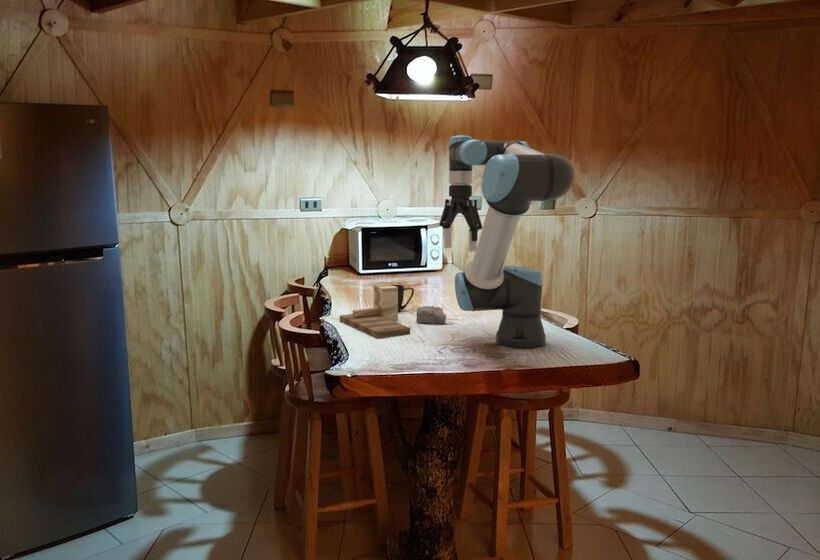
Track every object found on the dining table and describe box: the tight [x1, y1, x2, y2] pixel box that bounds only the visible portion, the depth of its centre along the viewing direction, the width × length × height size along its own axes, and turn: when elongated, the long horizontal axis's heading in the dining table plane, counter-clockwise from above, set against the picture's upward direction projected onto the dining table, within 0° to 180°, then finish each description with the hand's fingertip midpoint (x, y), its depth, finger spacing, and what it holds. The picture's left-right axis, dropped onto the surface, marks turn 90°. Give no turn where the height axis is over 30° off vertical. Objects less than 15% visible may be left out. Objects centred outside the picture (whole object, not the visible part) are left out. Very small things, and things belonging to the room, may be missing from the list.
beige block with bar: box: [352, 284, 399, 322], centre depth 218 cm, size 7×16×12 cm, turn 121°
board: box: [339, 313, 411, 339], centre depth 210 cm, size 28×12×2 cm, turn 31°
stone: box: [415, 305, 447, 325], centre depth 217 cm, size 10×8×6 cm
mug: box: [391, 284, 415, 313], centre depth 235 cm, size 8×12×10 cm
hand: (459, 249), depth 206 cm, fingers open, 13 cm apart
